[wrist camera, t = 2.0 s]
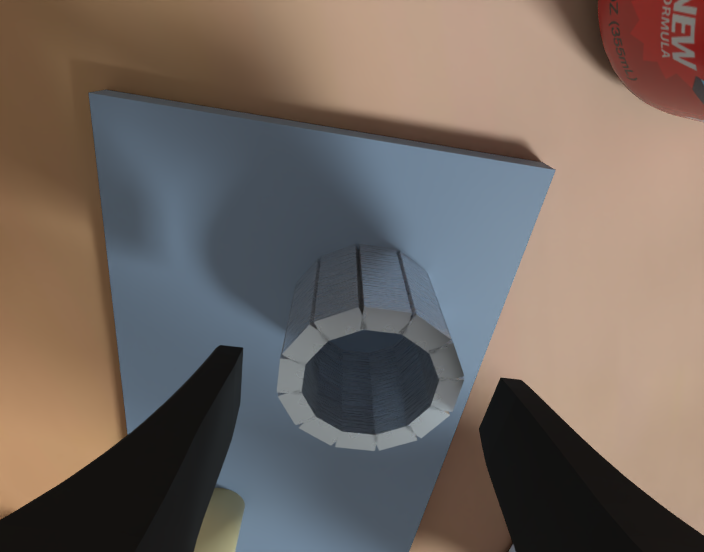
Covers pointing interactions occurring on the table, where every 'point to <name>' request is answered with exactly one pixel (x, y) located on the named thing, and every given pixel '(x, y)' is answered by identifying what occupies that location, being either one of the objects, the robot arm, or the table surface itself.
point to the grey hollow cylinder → (367, 368)
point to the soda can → (657, 51)
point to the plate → (278, 288)
